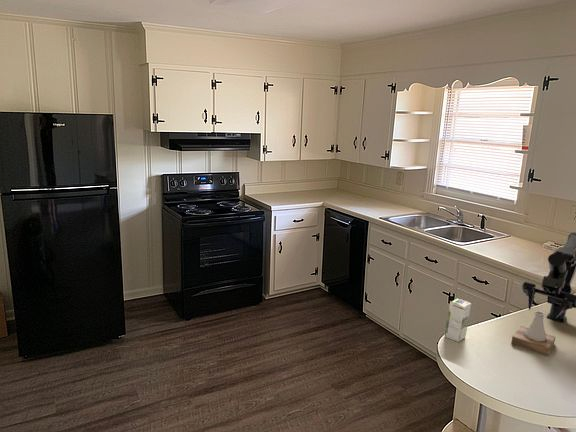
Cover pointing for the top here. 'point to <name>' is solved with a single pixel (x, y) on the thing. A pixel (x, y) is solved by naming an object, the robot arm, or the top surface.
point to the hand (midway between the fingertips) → (542, 313)
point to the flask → (536, 328)
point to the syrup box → (457, 320)
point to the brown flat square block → (532, 342)
